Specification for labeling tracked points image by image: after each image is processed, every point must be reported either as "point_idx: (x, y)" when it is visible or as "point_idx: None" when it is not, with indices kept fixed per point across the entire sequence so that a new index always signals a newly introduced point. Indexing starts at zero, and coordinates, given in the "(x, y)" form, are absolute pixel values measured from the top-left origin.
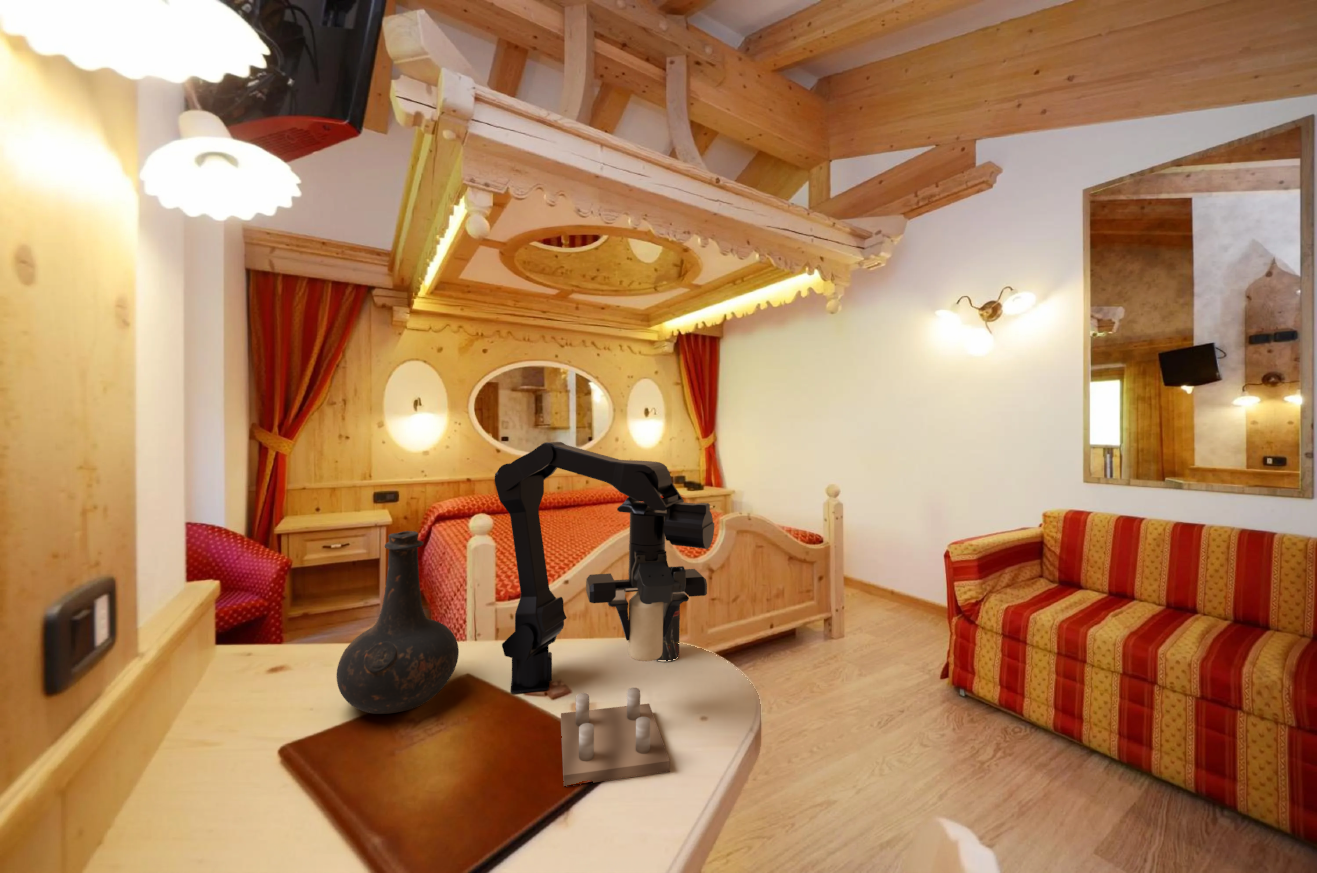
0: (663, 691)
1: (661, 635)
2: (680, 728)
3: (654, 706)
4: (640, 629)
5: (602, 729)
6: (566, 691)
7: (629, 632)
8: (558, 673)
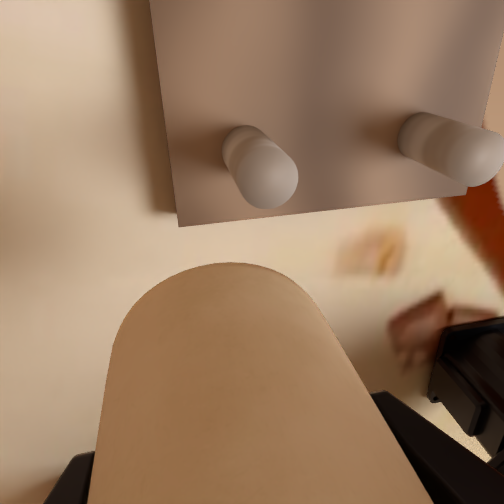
0: (117, 324)
1: (106, 442)
2: (61, 107)
3: (155, 247)
4: (359, 452)
5: (365, 82)
6: (400, 324)
7: (404, 440)
8: (402, 395)
